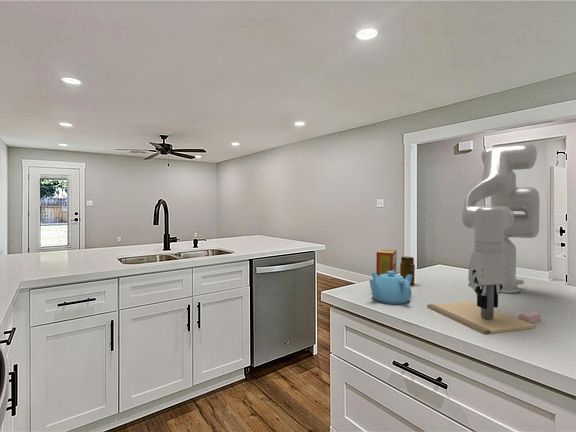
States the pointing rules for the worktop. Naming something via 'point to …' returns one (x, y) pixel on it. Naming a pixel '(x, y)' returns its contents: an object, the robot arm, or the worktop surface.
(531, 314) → the eraser
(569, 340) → the worktop surface
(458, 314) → the notepad
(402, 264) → the condiment
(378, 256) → the baking soda box
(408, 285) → the teapot
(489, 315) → the marker
